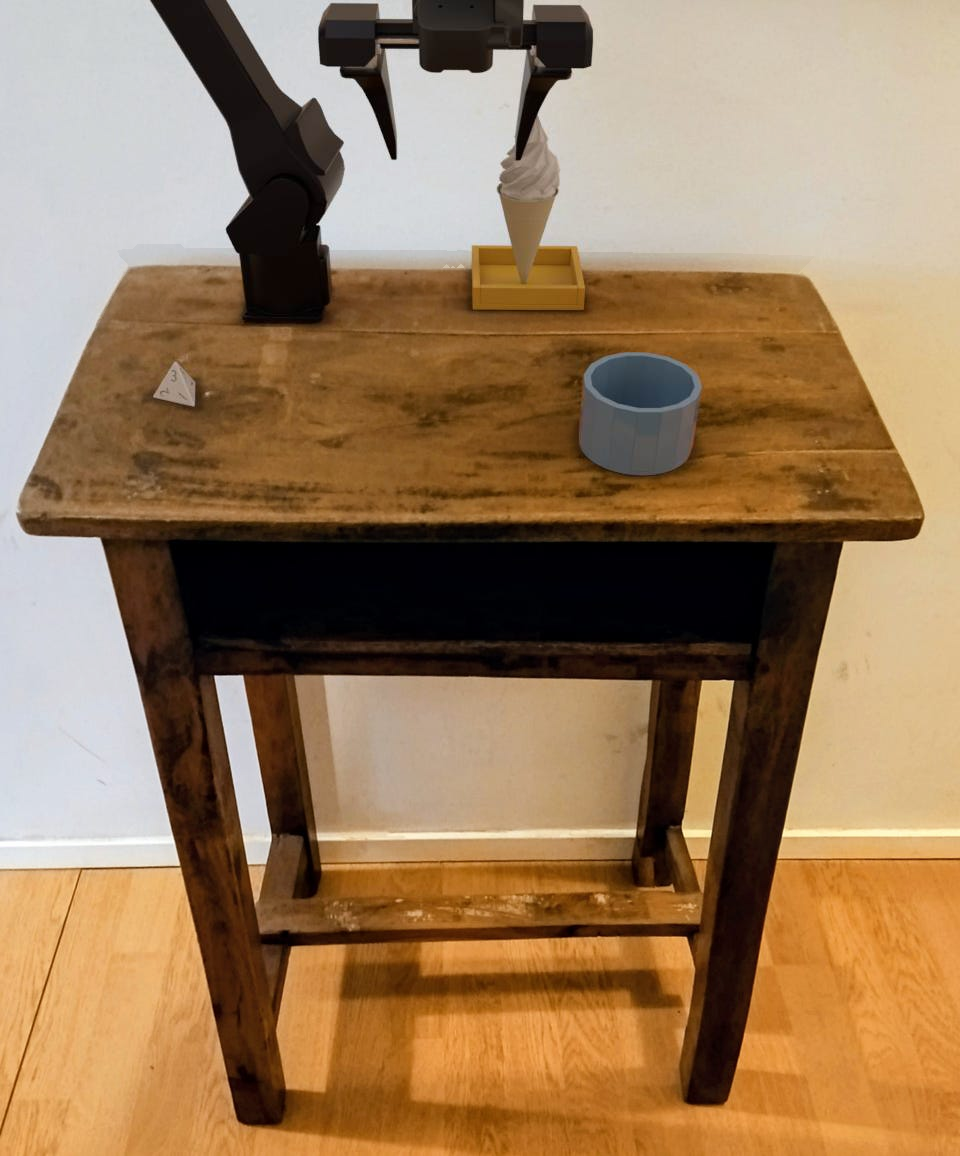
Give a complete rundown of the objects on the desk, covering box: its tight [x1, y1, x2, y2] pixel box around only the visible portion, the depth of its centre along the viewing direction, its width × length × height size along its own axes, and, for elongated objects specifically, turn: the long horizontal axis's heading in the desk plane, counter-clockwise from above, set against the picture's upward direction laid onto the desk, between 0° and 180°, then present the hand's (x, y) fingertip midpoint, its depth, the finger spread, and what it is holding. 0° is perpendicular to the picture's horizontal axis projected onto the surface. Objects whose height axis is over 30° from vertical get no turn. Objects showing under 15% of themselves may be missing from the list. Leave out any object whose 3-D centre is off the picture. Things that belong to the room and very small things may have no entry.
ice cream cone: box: [496, 114, 561, 284], centre depth 93 cm, size 5×5×15 cm
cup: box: [578, 351, 703, 476], centre depth 79 cm, size 8×8×5 cm
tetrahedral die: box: [152, 361, 196, 408], centre depth 84 cm, size 4×3×3 cm
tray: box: [471, 244, 586, 311], centre depth 98 cm, size 9×8×2 cm
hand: (456, 158), depth 86 cm, fingers open, 9 cm apart
